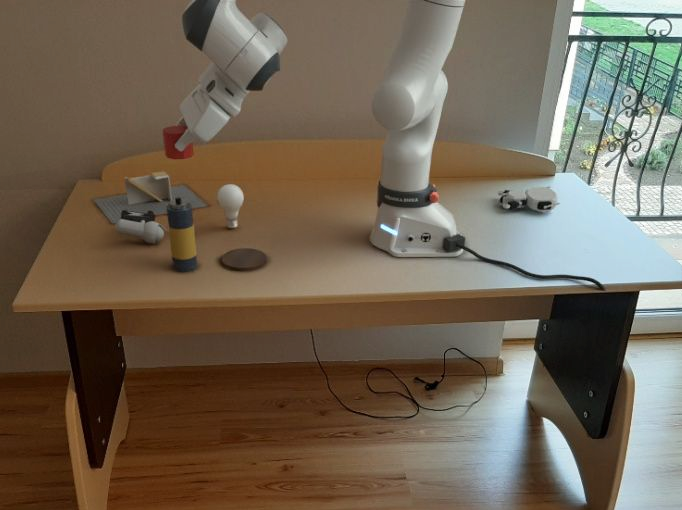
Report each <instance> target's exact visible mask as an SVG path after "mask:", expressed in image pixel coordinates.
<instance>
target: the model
mask: <svg viewBox="0 0 682 510" xmlns="http://www.w3.org/2000/svg"><path fill="white" fill-rule="evenodd" d="M124 178H125V179H124V183H125V191H126V198H127V204H128V205H133V204H139V203H145V202H150V201H156V200H157V201H159V202H160V203H163V202H164V200H163V199H168V200H169V201H171V200H173V196H172V187H173V186H171V179H170V175H168V173H167V172H166V171H165V170H162V171H158V172H151V174H148V175H142V176H136V177H128V176H127V175H124Z"/></svg>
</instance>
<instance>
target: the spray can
mask: <svg viewBox="0 0 682 510" xmlns="http://www.w3.org/2000/svg"><path fill="white" fill-rule="evenodd" d="M166 209H167V214H166V216H167V227H168V231H169V233H168V234H169V236H168V237H169V244H170V252H171V253H170V254H171V259H172V267H173V268H172V269H173V270H174V271H176V272H179V273H189V272H194V271H195V270H196V269H197V268H198V257H197V246H196V233H195V223H194V215H193V209H192V205H191V204H190V203H188V201H187V200H186V199H181V198H180V197H176V198H175V199H173V200H171V201H170V202H169V204H168V205H167V206H166Z"/></svg>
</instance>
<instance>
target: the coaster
mask: <svg viewBox="0 0 682 510" xmlns="http://www.w3.org/2000/svg"><path fill="white" fill-rule="evenodd" d="M267 262H268V258H267V254H266V253H265V252H264V251H262V250H260V249H256V248H250V247H243V248H242V247H240V248H235V249H230V250H228V251H226V252H225V253H224V254H222V256H221V263H222V265H223V267H224V268H227V269H228V270H232V271H237V272H250V271H254V270H257V269H260V268H262V267H264V266H265V265H266V264H267Z"/></svg>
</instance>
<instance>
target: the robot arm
mask: <svg viewBox="0 0 682 510" xmlns="http://www.w3.org/2000/svg"><path fill="white" fill-rule="evenodd" d="M465 3H466V0H407V2H406V6H405V10H404V14H403V18H402V22H401V26H400V30H399V33H398V36H397V40H396V41H395V44H394V47H393V50H392V51H391V55H390V57H389V60H388V62H387V65H386V67H385V70H384V73H383V75H382V78H381V80H380V83H379V85H378V87H377V89H376V90H375V92H374V93H373V96H372V100H371V110H372V114H373V117H374V119H375V120H376V122H377V124H378V125H380V126H381V127H382V128H384V129H386V130H388V131H387V135H386V138H385V140H384V143H383V145H382V150H381V161H380V162H381V163H380V179H379V180H378V184H377V188H376V189H377V190H376V206H377V209H376V215H375V219H374V224H373V227H372V231H371V233H370V235H369V241H370V242H371V244H372V245H373V246H375V247H376V248H378V249H381V250H383V251H386V252H388V253H389V254H390V256H393V257H395V258H427V257H428V258H430V257H431V258H445V257H446V258H447V257H448V258H450V257H455V258H456V257H458V256H460V255H461V254H463V252H464V251H465V252H467V253H469V254H471V255H473V256H474V257H475V258H477V259H479V260H481V261H483V262H486V263H491V264H495V265H500V266H503V267H507V268H510V269H512V270H515V271H517V272H518V273H520V274H523V275H525V276H526V277H530V278H534V279H541V280H552V279H554V280H555V279H568V280H576V281H585V282H589V283H592V284H594V285H596V286H597V287H598V288H599V289H600V290H601V291H603V292H606V288H605V286H604V285H603V284H602V283H601V282H600V281H598V280H597V279H595V278H592V277H590V276H589V277H588V276H581V275H573V274H572V275H571V274H545V275H544V274H537V273H532V272H530V271H527V270H525V269H523V268H521V267H519V266H516V265H515V264H512V263H510V262H505V261H502V260H496V259H493V258H492V259H491V258H488V257H485V256H484V255H483V256H482V255H480V254H479V253H478V252H476V250H475V251H474V250H473V249H471V248H469V247H467V246H465V244H466V243H465V242H466V237H465V236H463V234H462V233H461V232H460V231H459V230H457V224H456V220H455V217H454V215H453V213H451V212H450V211H449V210H448V209H447V208H446V207H444V206H443V205H442V204H441V203H439V193H438V189H437V187H436V185H435V184H434V183H433V185H432V184H431V183H430V172H431V163H432V155H433V149H434V145H435V140H436V136H437V133H438V129H439V125H440V120H441V115H442V112H443V106H444V102H445V99H446V96H447V95H448V94H447V93H448V90H449V83H448V79H447V76H446V74H445V72H444V71H443V70H442V69H443V67H444V64H445V63H446V60H447V58H448V55H449V54H450V52H451V50H452V48H453V46H454V42H455V39H456V35H457V32H458V29H459V25H460V22H461V17H462V14H463V12H464V11H463V10H464V7H465ZM181 23H182V29H183V34H184V37H185V40H186V41H188V42H189V43H190V44H191V45H193V46H194V47H195V48H196V49H198V50H199V51H200V52H203V54H204V55H206V57H207V58H209V60H211V63H210V64H209V65H208V66H207V67H206V69H205V70H204V71H203V72H202V73H201V75H200V76H199V77H198V78H197V82H198V83H199V84H197V85H196V86H195V87H194V88H193V89H192V90H191V91H190V93H188V95H187V96H186V97H185V98H184V99H183V101H182V102H181V103H180V105H179V107H178V108H179V111H180V113H181V117H180V118H179V120H178V121H177V123H176V125H175V126H186V127H188V129H187V130H186V131H185V133H184V134H183V135H182V136H181V137H180V138H178V139H177V141H176V142H175V143H174V145H175V148H177V149H178V150H179V151H183V150H184V149H185V147H186V146H187V145H189V144H190V143H192V142H193V143H194V142H195V140H197V141H198V142H199V143H201V144H203V145H205V144H206V143H208V142H210V141H211V140H212V139H213V138H214V137H215V136H216V135H217V134H218V133H219V132H220V131H221V130H222V129H223V128H224V127H225V126H226V125H227V123H228V122H229V121H230V120H231V118H236V117H237V116H238V115H239V114H240V112H241V111H242V104H243V102H244V100H245V99H246V98H247V96H248V95H249V94H250V93H251V92H262V91H263V90H264V88H265V86H266V85H267V84H268V83H269V81H270V80H271V79H272V78H273V77H274V75H275V74H277V72H280V71H281V59H280V58H281V57H280V55H281V54H282V52H283V51H284V49H285V48H286V46H287V44H288V36H287V34H286V32H285V31H284V30H283V28H282V27H281V25H280V24H279V23H278V22H276V20H275V19H273V18H272V17H271V16H270V15H268V14H267V13H264V12H258V13H256V14H255V15H253V17H252V18H250V19H249V18H248V17H246V16H245V14H243V13H242V12H241V10H239V8H238V6H237V0H190V1H189V3H187V6H186V7H185V9H184V11H183V13H182V15H181ZM585 383H586V384H585V388H584V394H588V393H589V391H590V390H589V389H590V386H591V381H587V382H585Z"/></svg>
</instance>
